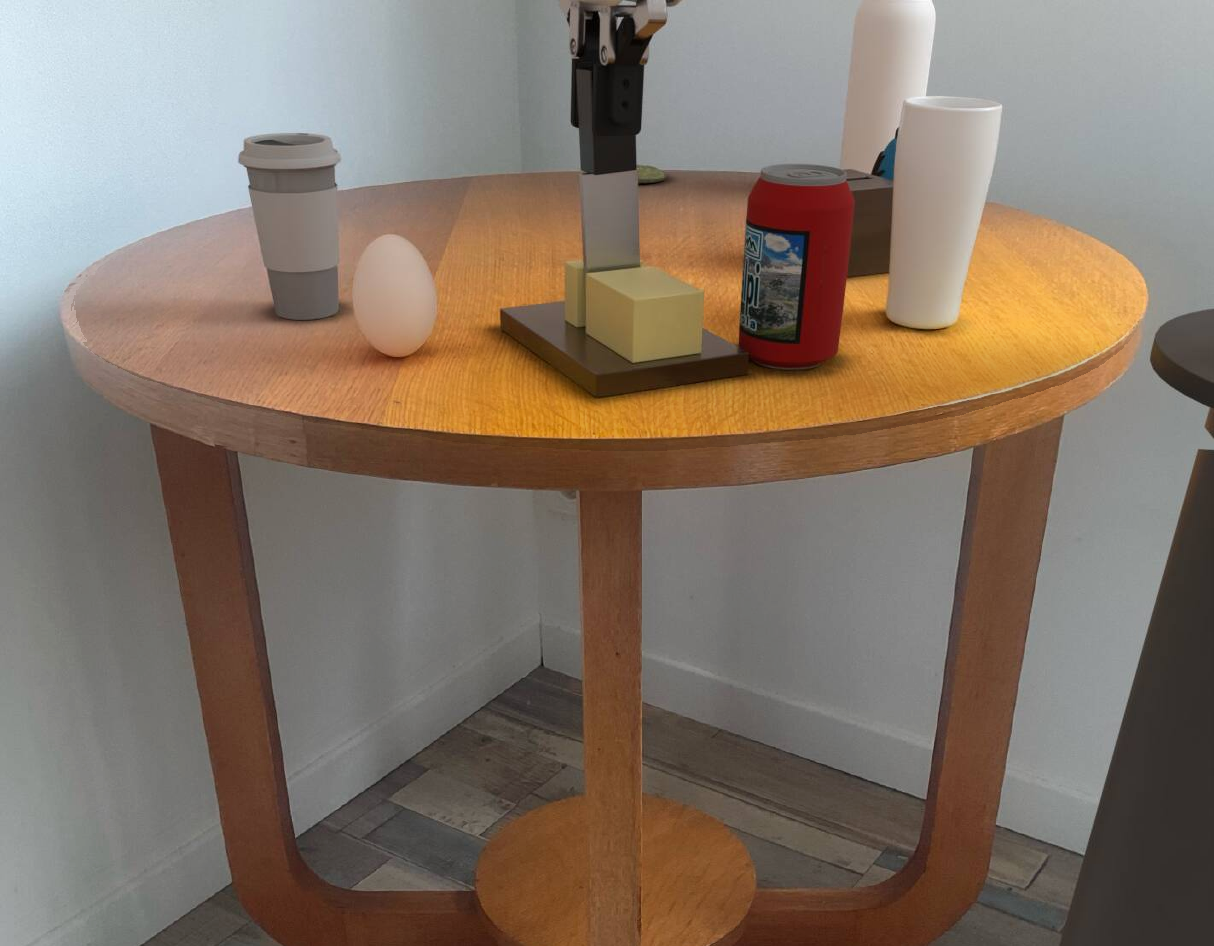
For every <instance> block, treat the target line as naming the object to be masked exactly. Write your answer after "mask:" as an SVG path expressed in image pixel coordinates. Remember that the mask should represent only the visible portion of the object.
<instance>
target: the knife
mask: <svg viewBox="0 0 1214 946" xmlns="http://www.w3.org/2000/svg"><path fill="white" fill-rule="evenodd" d="M576 78H577V100H578V121H579V128H578V140H579V141H578V143H579V163H580V171H582V173H578V176H579V177H578V179H579V180H578V181H579V196H580V197H579V200H580V220H581V221H580V222H581V242H582V244H581V245H582V260H583V266H584V288H585V309H586V274H587V273H595V272H604V271H613V270H622V269H631V268H640V260H641V253H640V252H641V251H640V249H641V248H640V247H641V246H640V207H639V206H640V205H639V184H638V168H637V165H638V164H637V135H624V136H597V135H595V134H594V133H593V132H592V96H593V67H586V68H577V69H576Z"/></svg>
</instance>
